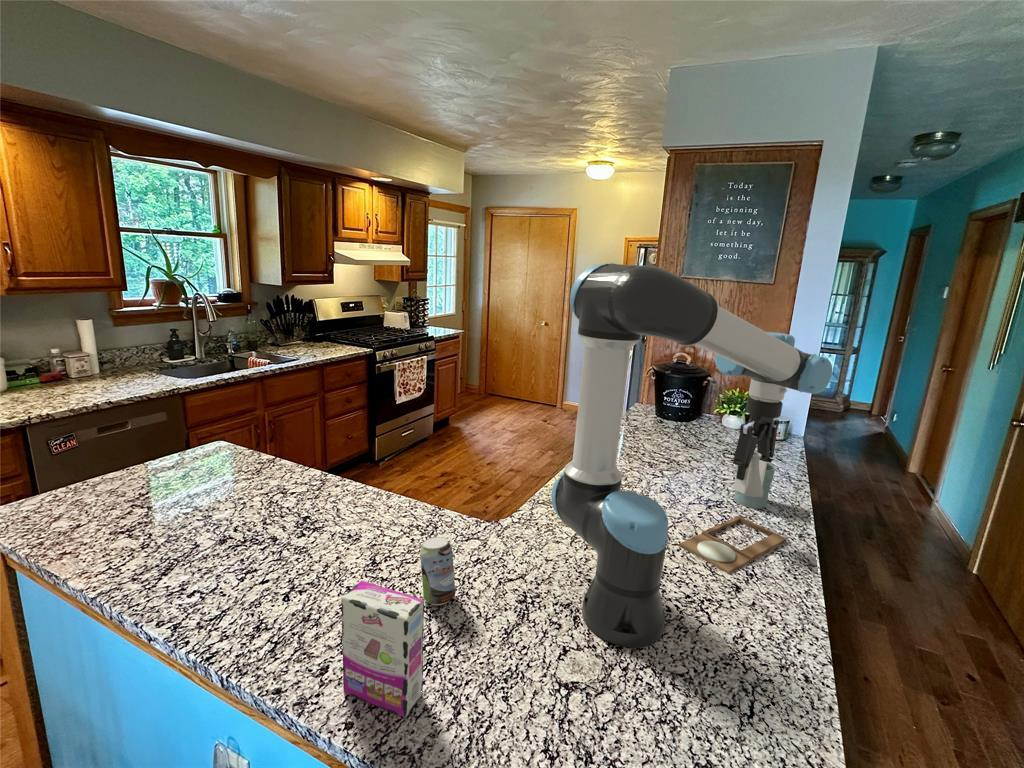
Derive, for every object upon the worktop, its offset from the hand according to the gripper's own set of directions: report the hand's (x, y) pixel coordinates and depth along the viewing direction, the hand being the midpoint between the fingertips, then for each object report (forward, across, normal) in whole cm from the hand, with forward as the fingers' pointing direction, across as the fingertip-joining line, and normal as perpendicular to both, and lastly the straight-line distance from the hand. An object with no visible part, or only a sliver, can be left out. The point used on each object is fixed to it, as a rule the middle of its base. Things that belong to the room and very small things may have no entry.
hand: (748, 488), depth 123 cm
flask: (+1, 0, 0) cm, 1 cm away
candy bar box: (+15, -92, +3) cm, 94 cm away
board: (+14, -4, -1) cm, 14 cm away
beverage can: (+15, -76, +18) cm, 79 cm away
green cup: (+13, +22, +10) cm, 28 cm away
